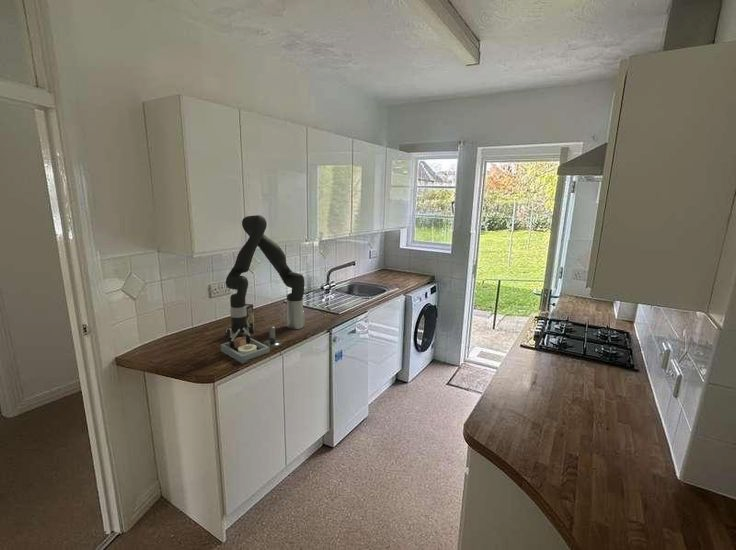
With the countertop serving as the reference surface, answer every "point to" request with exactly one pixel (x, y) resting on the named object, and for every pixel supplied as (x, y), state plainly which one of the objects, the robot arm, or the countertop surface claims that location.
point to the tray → (244, 358)
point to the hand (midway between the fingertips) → (240, 345)
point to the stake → (272, 338)
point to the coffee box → (249, 315)
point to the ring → (244, 346)
